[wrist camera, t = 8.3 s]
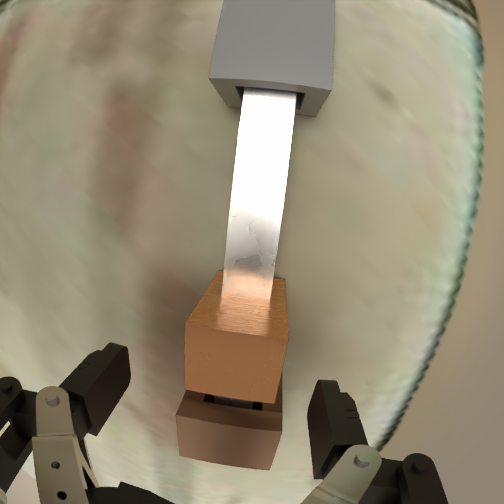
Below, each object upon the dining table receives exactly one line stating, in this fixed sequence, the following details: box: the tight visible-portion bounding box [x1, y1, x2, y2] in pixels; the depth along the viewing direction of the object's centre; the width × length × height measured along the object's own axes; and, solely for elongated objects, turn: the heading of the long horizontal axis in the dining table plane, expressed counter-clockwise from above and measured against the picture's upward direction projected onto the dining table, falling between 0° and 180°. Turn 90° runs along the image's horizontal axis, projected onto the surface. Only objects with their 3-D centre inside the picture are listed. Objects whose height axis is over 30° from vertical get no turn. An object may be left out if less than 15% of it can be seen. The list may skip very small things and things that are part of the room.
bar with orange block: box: [185, 87, 296, 409], centre depth 14 cm, size 4×20×7 cm, turn 173°
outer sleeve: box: [208, 0, 335, 117], centre depth 12 cm, size 5×9×5 cm, turn 173°
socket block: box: [176, 372, 282, 470], centre depth 17 cm, size 6×4×6 cm
